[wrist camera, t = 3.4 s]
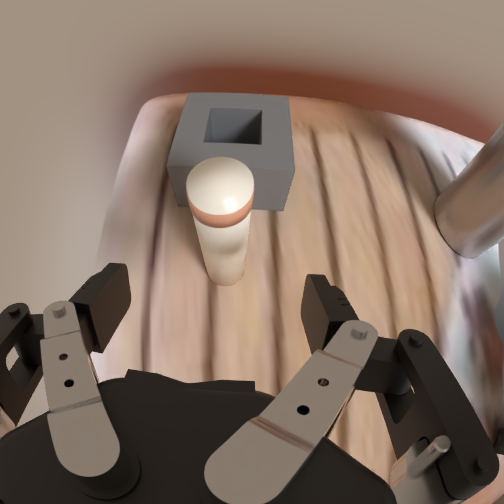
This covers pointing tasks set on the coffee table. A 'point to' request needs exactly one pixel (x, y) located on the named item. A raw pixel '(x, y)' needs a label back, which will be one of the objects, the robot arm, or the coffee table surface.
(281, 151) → the hole block
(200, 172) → the dowel
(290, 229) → the coffee table surface
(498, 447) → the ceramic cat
